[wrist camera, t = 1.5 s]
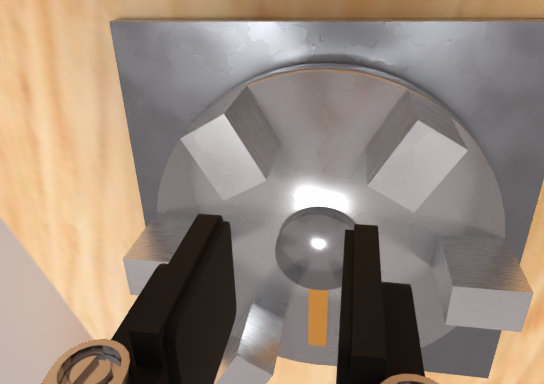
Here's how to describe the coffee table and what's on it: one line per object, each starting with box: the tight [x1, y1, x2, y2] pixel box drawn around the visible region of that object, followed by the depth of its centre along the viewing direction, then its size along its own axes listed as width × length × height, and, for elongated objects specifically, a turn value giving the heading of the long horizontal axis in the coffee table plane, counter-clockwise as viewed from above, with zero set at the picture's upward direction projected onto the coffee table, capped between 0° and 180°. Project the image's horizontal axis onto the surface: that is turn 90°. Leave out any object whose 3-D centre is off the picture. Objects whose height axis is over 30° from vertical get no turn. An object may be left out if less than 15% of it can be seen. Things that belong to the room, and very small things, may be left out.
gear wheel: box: [123, 63, 533, 384], centre depth 26 cm, size 20×20×6 cm
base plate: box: [110, 18, 544, 378], centre depth 30 cm, size 24×24×1 cm
